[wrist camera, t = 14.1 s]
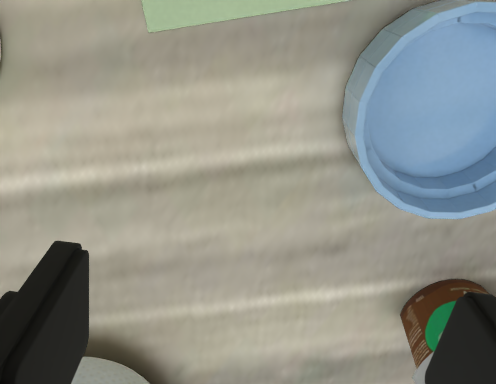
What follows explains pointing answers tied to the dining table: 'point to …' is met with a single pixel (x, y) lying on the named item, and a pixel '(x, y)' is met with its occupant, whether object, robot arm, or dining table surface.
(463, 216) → the bowl
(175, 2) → the napkin
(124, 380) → the cereal bowl
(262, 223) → the dining table surface
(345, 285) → the dining table surface
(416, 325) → the food container
